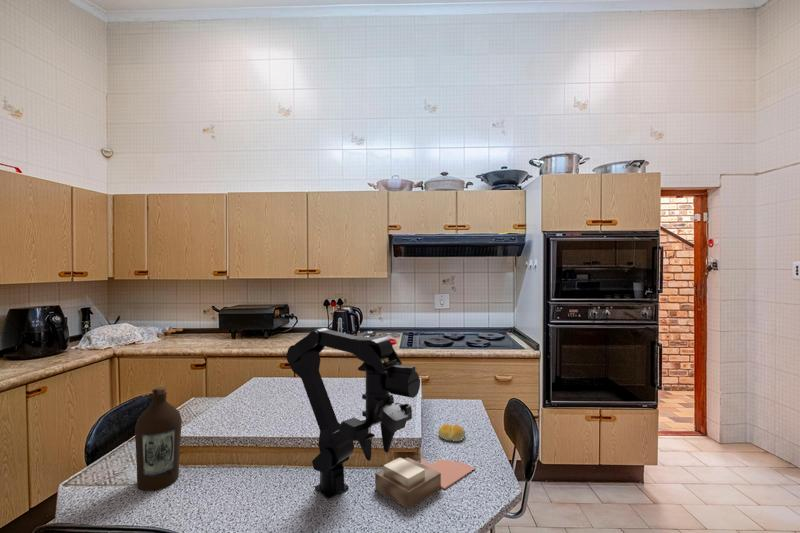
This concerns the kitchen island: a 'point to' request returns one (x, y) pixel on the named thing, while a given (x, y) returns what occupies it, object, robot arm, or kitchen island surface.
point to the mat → (449, 471)
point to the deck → (412, 493)
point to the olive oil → (158, 443)
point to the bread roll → (451, 432)
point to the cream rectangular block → (404, 471)
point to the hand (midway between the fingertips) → (377, 456)
